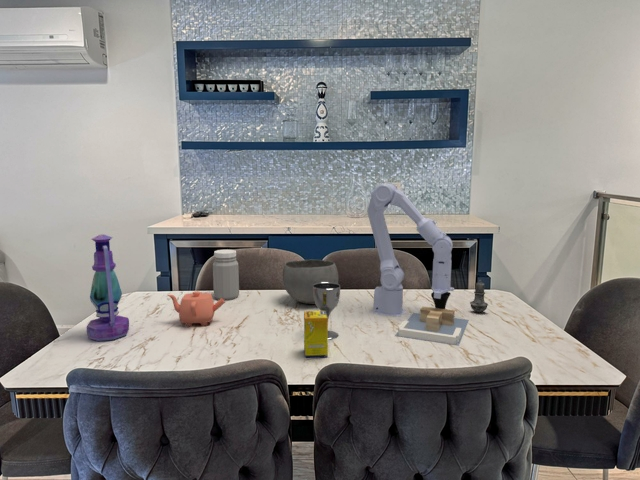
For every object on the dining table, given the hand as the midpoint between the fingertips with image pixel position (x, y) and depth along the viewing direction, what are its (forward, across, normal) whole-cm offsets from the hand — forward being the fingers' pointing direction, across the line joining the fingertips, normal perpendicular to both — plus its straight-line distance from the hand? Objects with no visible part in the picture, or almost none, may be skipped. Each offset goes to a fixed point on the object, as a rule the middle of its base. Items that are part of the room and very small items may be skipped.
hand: (440, 314), depth 148 cm
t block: (+1, -9, 0) cm, 9 cm away
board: (+2, -11, 0) cm, 11 cm away
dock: (+1, -18, 0) cm, 18 cm away
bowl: (+2, 0, +47) cm, 47 cm away
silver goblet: (+2, -29, +28) cm, 40 cm away
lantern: (+2, -56, +86) cm, 103 cm away
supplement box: (+2, -43, +25) cm, 50 cm away
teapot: (+2, -36, +70) cm, 79 cm away
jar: (+2, -8, +79) cm, 79 cm away
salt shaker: (+2, +11, -11) cm, 16 cm away
